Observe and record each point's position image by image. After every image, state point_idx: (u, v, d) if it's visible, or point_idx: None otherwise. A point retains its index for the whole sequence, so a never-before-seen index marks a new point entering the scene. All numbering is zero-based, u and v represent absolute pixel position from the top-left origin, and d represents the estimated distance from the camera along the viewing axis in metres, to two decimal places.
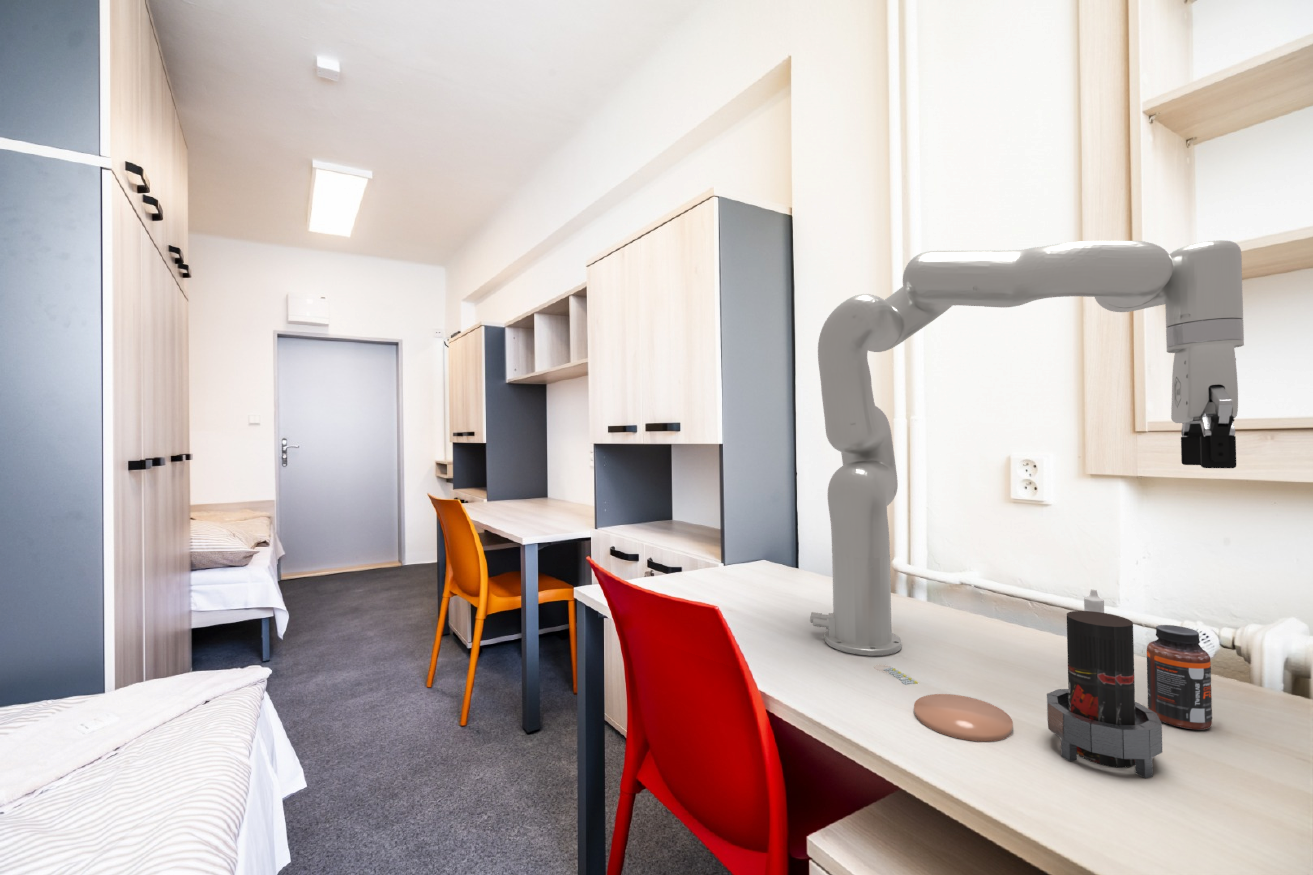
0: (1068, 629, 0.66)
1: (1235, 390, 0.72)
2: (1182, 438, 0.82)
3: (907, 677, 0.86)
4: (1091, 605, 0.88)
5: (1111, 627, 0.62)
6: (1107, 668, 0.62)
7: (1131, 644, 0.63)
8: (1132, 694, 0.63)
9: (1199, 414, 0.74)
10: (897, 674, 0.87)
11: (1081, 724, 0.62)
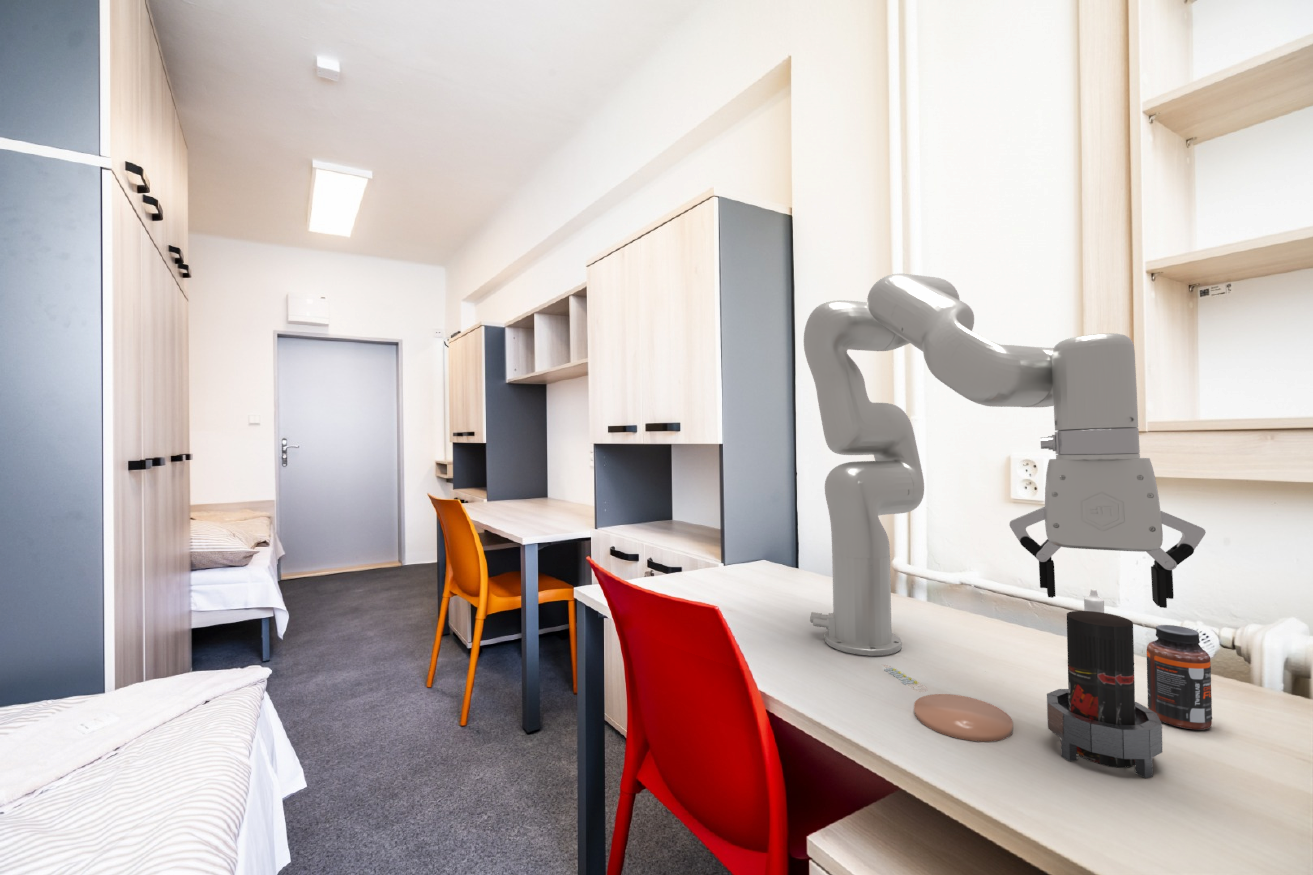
0: (1068, 629, 0.66)
1: None
2: (1051, 564, 0.66)
3: (907, 677, 0.86)
4: (1091, 605, 0.88)
5: (1111, 627, 0.62)
6: (1107, 668, 0.62)
7: (1131, 644, 0.63)
8: (1132, 694, 0.63)
9: None
10: (897, 674, 0.87)
11: (1081, 724, 0.62)
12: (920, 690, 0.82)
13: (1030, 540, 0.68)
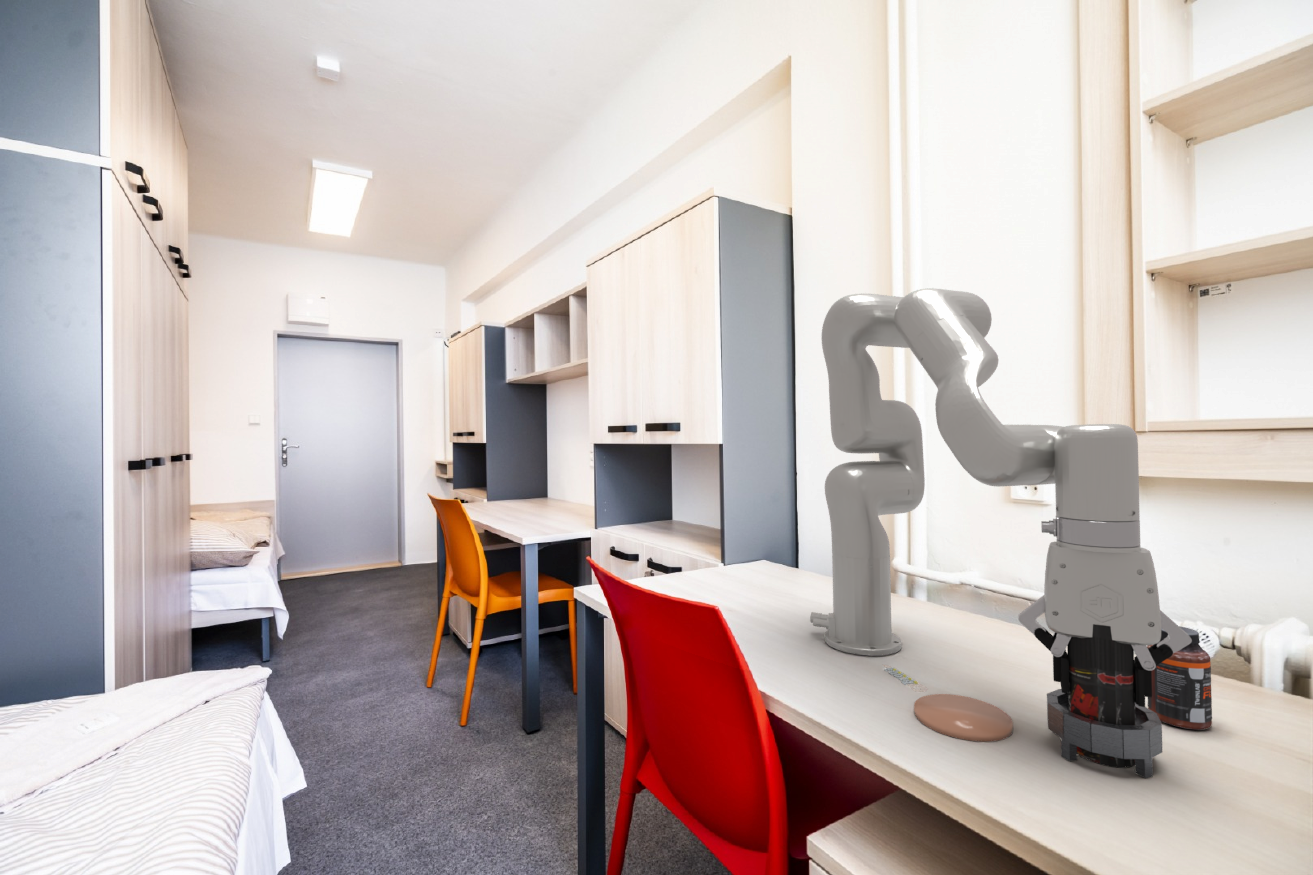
0: None
1: None
2: (1066, 660, 0.65)
3: (907, 677, 0.86)
4: None
5: None
6: (1107, 668, 0.62)
7: None
8: (1132, 694, 0.63)
9: None
10: (897, 674, 0.87)
11: (1081, 724, 0.62)
12: (920, 690, 0.82)
13: (1045, 633, 0.67)
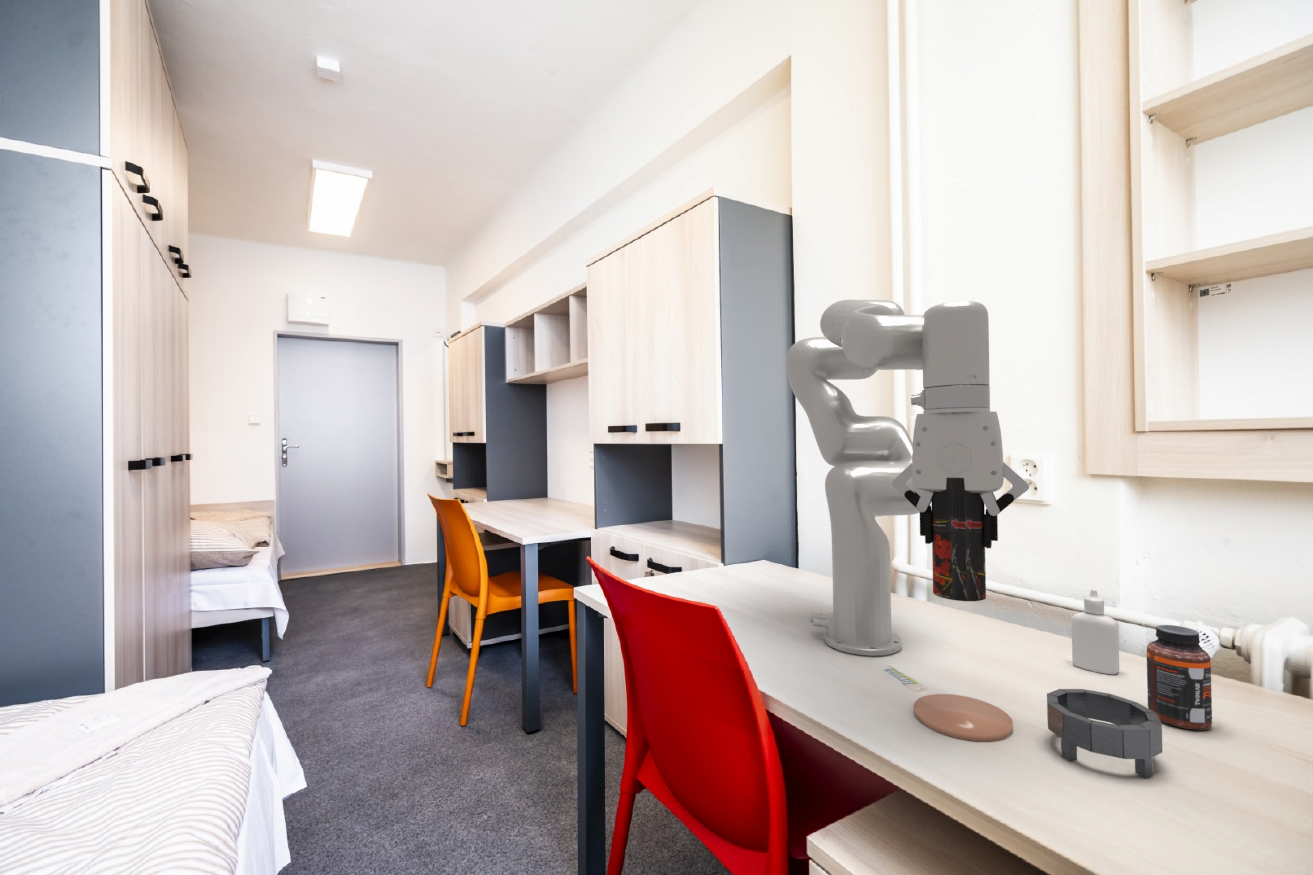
0: None
1: None
2: (928, 514, 0.74)
3: (907, 677, 0.86)
4: (1091, 605, 0.88)
5: (962, 478, 0.71)
6: (959, 515, 0.71)
7: (980, 494, 0.71)
8: (981, 538, 0.71)
9: (1002, 485, 0.70)
10: (897, 674, 0.87)
11: (1081, 724, 0.62)
12: (919, 691, 0.82)
13: (913, 493, 0.76)
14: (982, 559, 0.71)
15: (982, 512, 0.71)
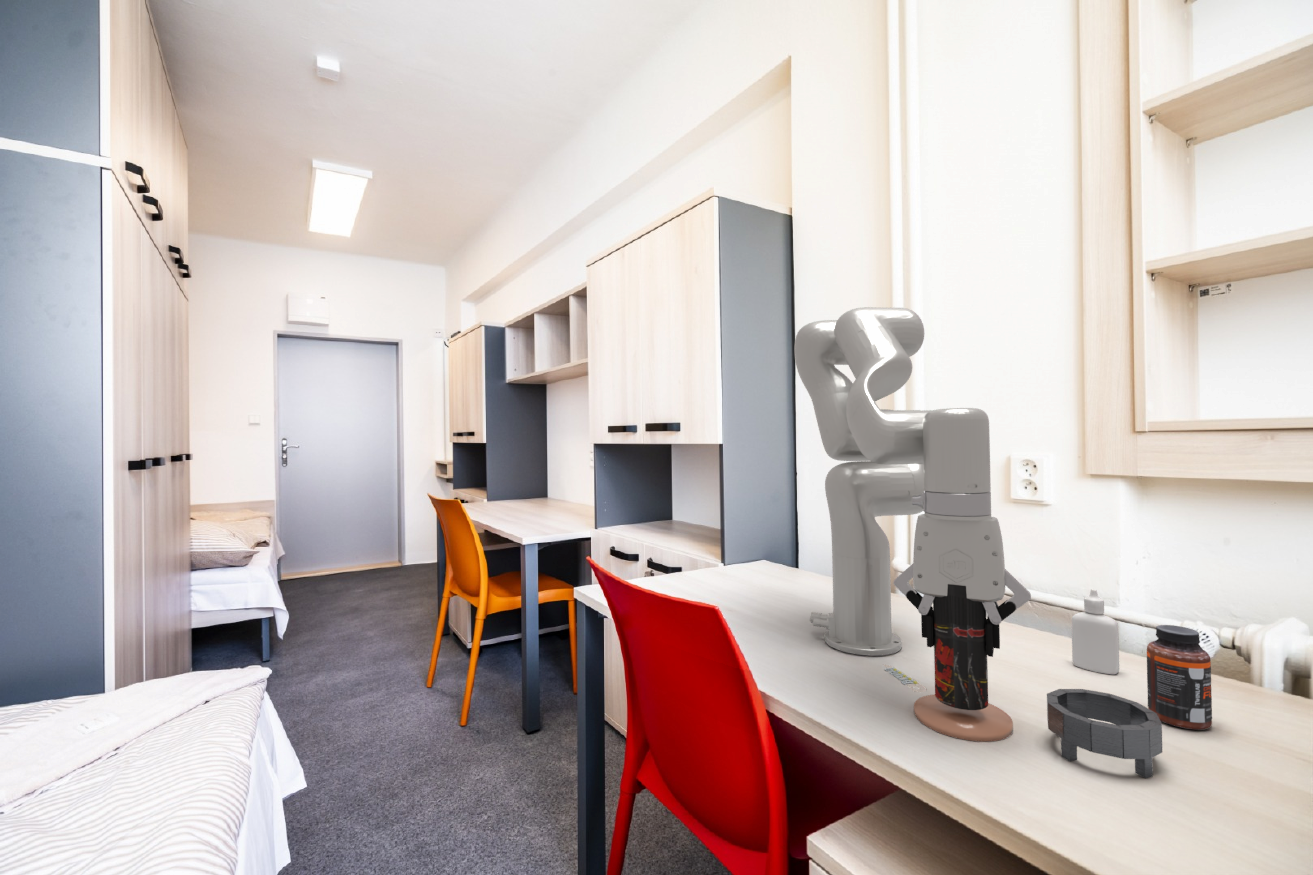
0: None
1: None
2: (930, 618, 0.74)
3: (907, 677, 0.86)
4: (1091, 605, 0.88)
5: (964, 586, 0.71)
6: (960, 623, 0.71)
7: None
8: (983, 646, 0.71)
9: None
10: (897, 674, 0.87)
11: (1081, 724, 0.62)
12: (919, 691, 0.82)
13: (914, 594, 0.75)
14: (984, 667, 0.71)
15: (984, 619, 0.71)
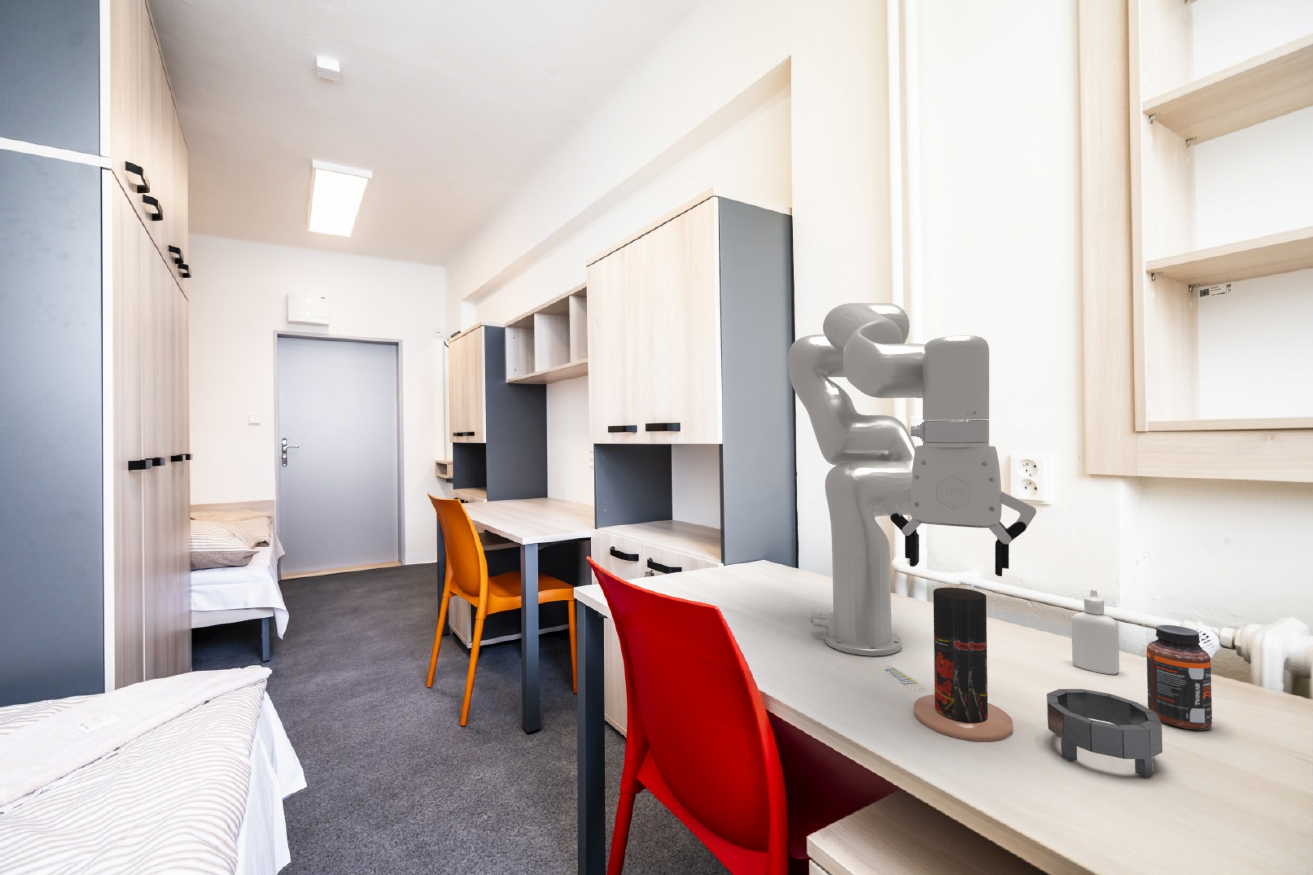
0: (934, 603, 0.74)
1: None
2: (913, 538, 0.75)
3: (907, 677, 0.86)
4: (1091, 605, 0.88)
5: (965, 600, 0.71)
6: (961, 636, 0.71)
7: (983, 615, 0.71)
8: (983, 659, 0.71)
9: (999, 520, 0.70)
10: (897, 674, 0.87)
11: (1081, 724, 0.62)
12: (918, 691, 0.82)
13: (898, 516, 0.77)
14: (984, 680, 0.71)
15: (984, 633, 0.71)
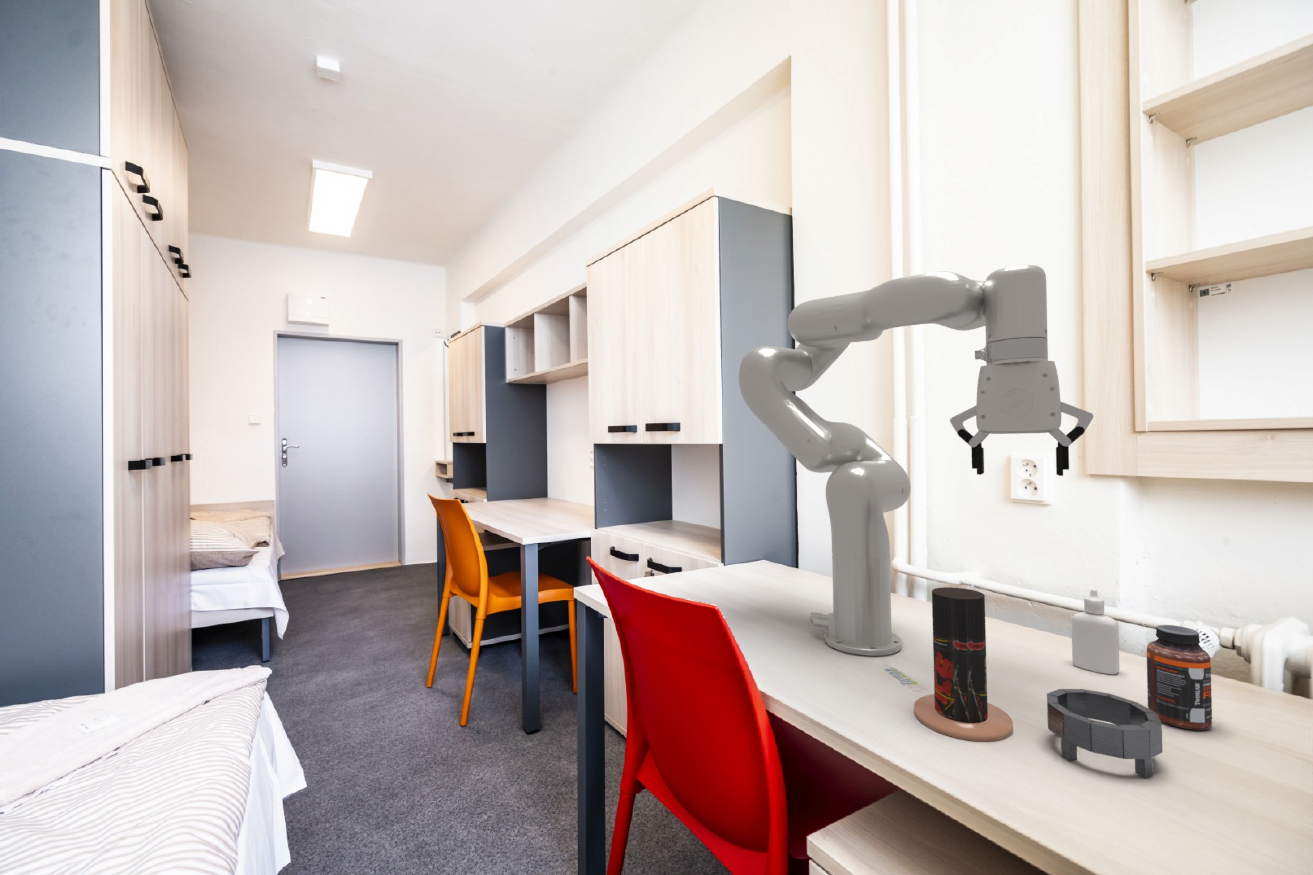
0: (932, 603, 0.74)
1: None
2: (979, 448, 0.84)
3: (907, 677, 0.86)
4: (1091, 605, 0.88)
5: (963, 599, 0.71)
6: (960, 636, 0.71)
7: (981, 614, 0.71)
8: (982, 659, 0.71)
9: (1060, 425, 0.79)
10: (897, 674, 0.87)
11: (1081, 724, 0.62)
12: (918, 691, 0.82)
13: (965, 431, 0.86)
14: (984, 679, 0.71)
15: (983, 632, 0.71)
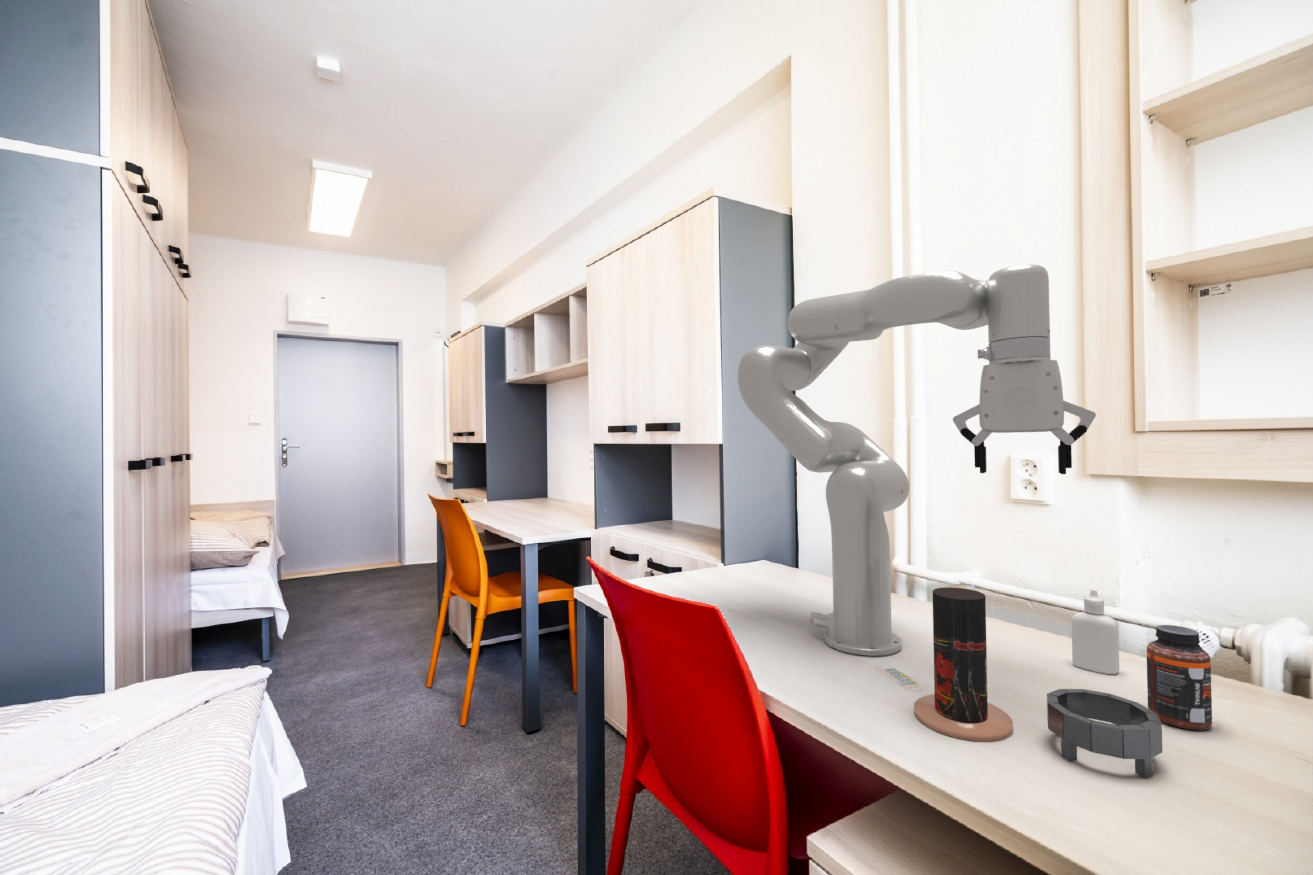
0: (933, 603, 0.74)
1: None
2: (983, 447, 0.85)
3: (907, 677, 0.86)
4: (1091, 605, 0.88)
5: (964, 600, 0.71)
6: (961, 636, 0.71)
7: (982, 615, 0.71)
8: (983, 659, 0.71)
9: None
10: (897, 674, 0.87)
11: (1081, 724, 0.62)
12: (918, 691, 0.82)
13: (968, 430, 0.86)
14: (984, 680, 0.71)
15: (984, 633, 0.71)
